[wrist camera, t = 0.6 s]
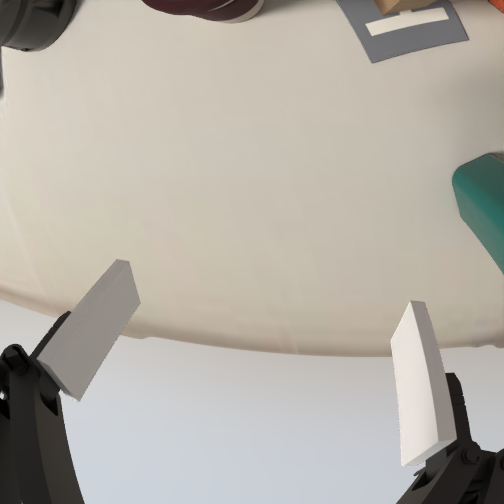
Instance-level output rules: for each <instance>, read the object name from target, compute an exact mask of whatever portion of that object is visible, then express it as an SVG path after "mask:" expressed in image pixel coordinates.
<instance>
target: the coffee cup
mask: <svg viewBox="0 0 504 504" xmlns="http://www.w3.org/2000/svg"><path fill="white" fill-rule="evenodd" d="M142 1H143V2H144V3H145V4H146V5H148V6H149V7H151V8H153V9H156V10H158V11H162V12H165V13H168V14H173V15H192V16H196V17H199V18H203V19H206V20H211V21H218V22H221V23H239V22H242V21H245V20H247V19H250V18H251V17H253V16H254V15H255V14H256V13H257V12H258V11H259V10H260V9H261V7H262V5H263V3H264V0H142Z"/></svg>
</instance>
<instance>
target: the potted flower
mask: <svg viewBox="0 0 504 504" xmlns="http://www.w3.org/2000/svg"><path fill="white" fill-rule="evenodd" d="M488 1H489V2H490V3H491V4H492V5H493V6H495V7H496V8H497V9H498V10H499V11H501V12H502V13H504V0H488Z"/></svg>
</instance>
